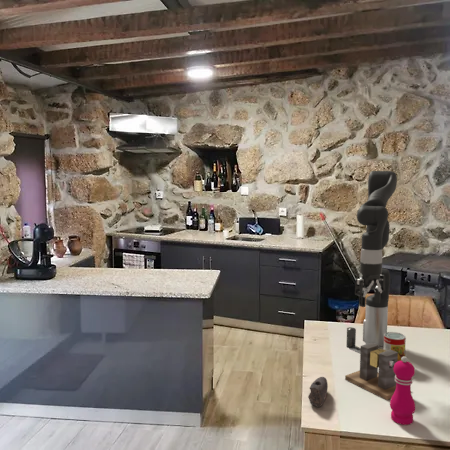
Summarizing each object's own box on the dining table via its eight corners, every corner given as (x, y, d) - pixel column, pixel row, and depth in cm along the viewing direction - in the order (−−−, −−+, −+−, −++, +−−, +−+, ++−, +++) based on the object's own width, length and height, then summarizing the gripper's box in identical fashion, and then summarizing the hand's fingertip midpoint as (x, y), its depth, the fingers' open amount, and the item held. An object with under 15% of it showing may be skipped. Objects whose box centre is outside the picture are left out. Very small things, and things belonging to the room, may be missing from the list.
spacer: (369, 364, 159) (370, 351, 159) (379, 361, 162) (380, 348, 162) (377, 367, 157) (377, 354, 156) (386, 364, 160) (387, 351, 159)
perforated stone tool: (317, 388, 159) (317, 369, 158) (332, 391, 157) (332, 372, 156) (305, 408, 146) (305, 387, 145) (321, 412, 143) (322, 391, 143)
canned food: (408, 367, 175) (410, 337, 174) (393, 370, 172) (394, 340, 171) (394, 359, 182) (395, 330, 181) (378, 362, 179) (379, 333, 178)
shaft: (344, 349, 170) (345, 328, 169) (350, 347, 172) (351, 326, 171) (388, 367, 154) (389, 345, 153) (394, 365, 156) (395, 343, 155)
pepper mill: (385, 413, 142) (387, 352, 140) (407, 412, 143) (410, 351, 140) (395, 426, 135) (398, 362, 132) (419, 425, 135) (422, 361, 133)
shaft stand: (345, 379, 165) (346, 344, 164) (367, 371, 172) (368, 337, 170) (386, 400, 150) (388, 361, 149) (409, 390, 157) (410, 353, 155)
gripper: (374, 257, 172) (373, 299, 173) (349, 261, 164) (348, 305, 165) (392, 260, 165) (390, 303, 167) (367, 265, 157) (365, 310, 159)
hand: (369, 304), depth 166 cm, fingers open, 8 cm apart
